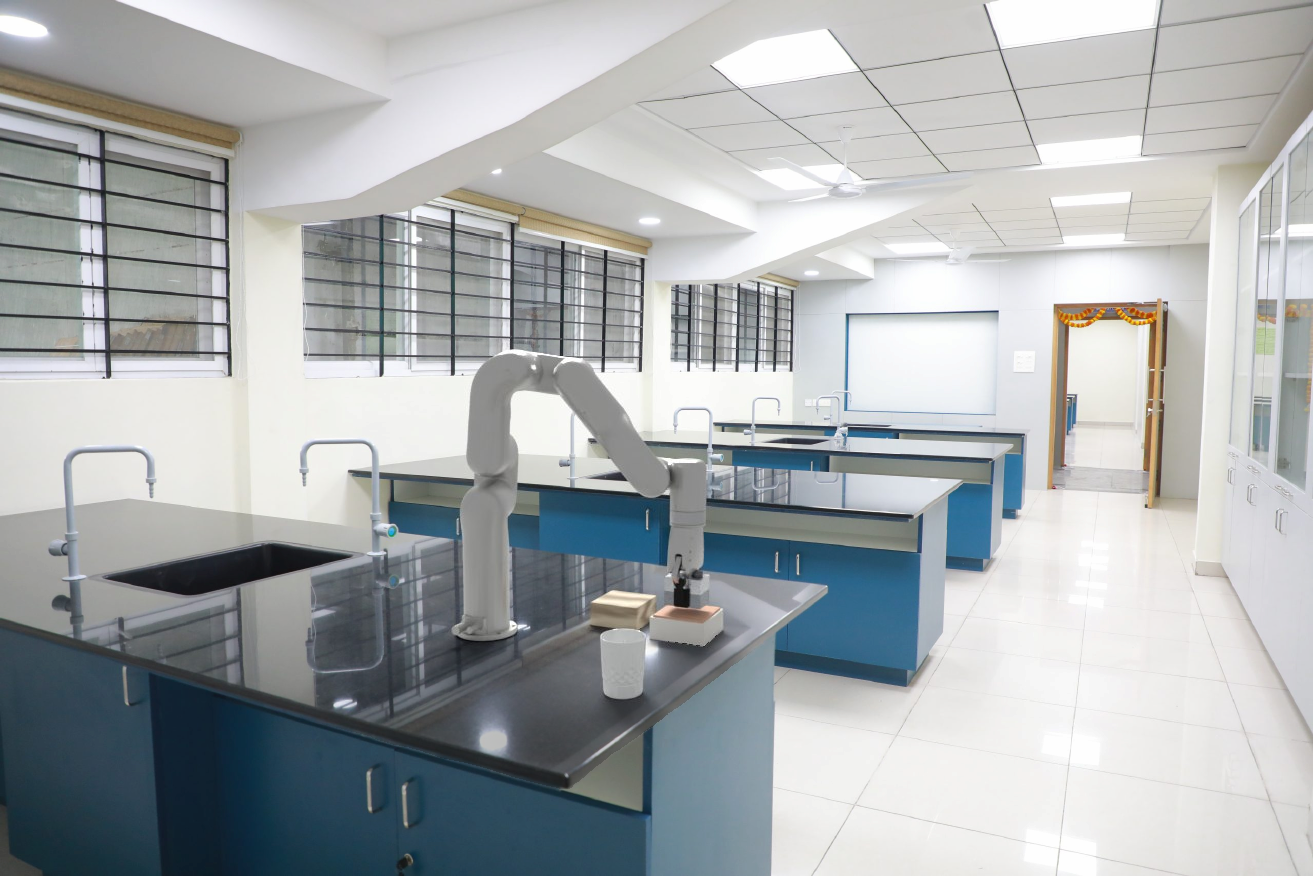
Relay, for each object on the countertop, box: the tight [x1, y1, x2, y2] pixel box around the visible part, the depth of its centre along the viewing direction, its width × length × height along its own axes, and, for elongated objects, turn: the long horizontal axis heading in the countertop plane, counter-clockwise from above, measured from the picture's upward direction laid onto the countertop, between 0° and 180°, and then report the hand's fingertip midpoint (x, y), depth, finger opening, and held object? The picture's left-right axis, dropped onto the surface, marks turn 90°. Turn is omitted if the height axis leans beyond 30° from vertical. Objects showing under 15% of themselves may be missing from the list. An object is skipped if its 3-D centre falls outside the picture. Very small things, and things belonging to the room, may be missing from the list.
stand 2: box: [649, 605, 724, 647], centre depth 176 cm, size 12×12×5 cm
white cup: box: [599, 628, 647, 700], centre depth 144 cm, size 8×8×10 cm
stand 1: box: [589, 590, 658, 631], centre depth 184 cm, size 11×11×5 cm
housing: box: [663, 569, 711, 609], centre depth 175 cm, size 8×6×7 cm
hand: (686, 602), depth 175 cm, fingers closed on housing, 5 cm apart
